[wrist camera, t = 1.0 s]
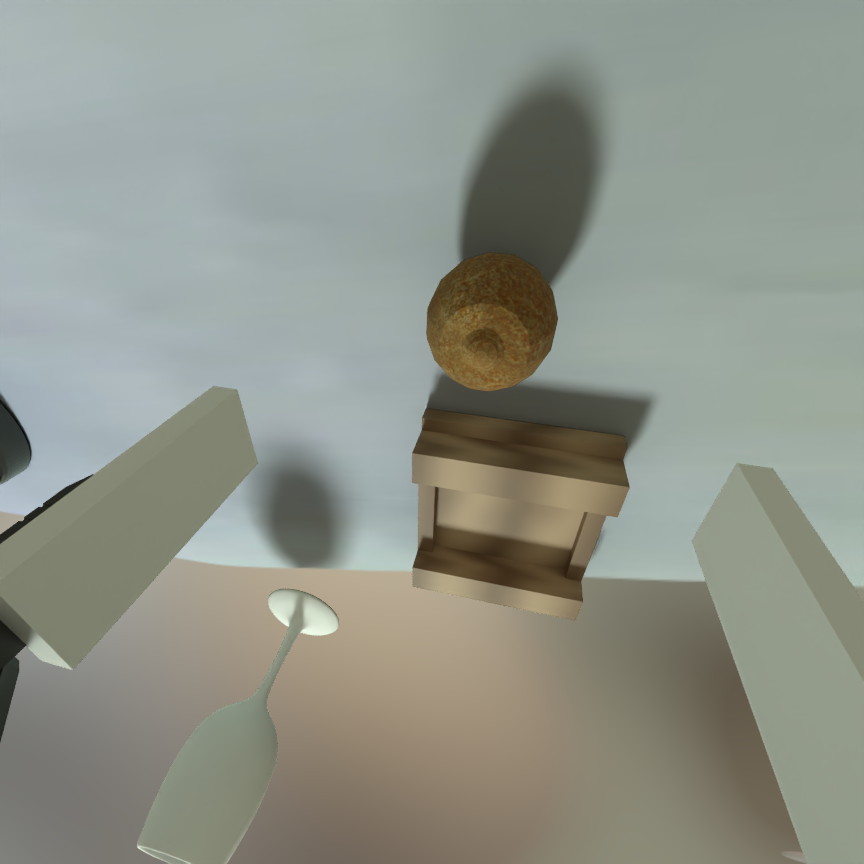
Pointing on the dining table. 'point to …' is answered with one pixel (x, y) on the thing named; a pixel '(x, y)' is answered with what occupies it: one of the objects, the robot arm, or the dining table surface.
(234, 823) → the wineglass
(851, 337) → the dining table surface
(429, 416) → the cradle
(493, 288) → the fruit
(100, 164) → the dining table surface
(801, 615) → the robot arm
